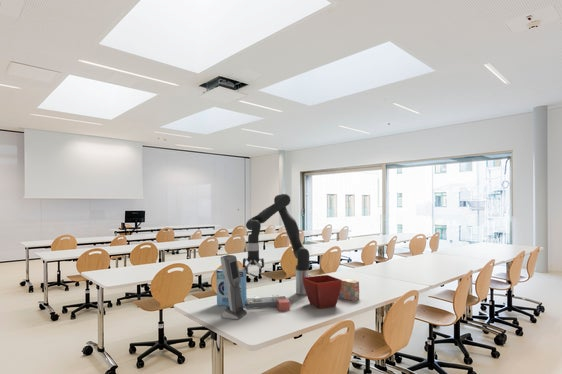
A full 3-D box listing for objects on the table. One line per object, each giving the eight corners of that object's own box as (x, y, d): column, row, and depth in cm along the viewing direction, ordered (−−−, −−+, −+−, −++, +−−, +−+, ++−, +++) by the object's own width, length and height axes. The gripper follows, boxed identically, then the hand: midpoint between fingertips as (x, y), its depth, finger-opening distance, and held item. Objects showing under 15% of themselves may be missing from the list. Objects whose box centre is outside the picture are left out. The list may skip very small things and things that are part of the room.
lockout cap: (287, 306, 219) (287, 298, 219) (289, 310, 211) (289, 301, 211) (277, 307, 217) (277, 299, 218) (279, 310, 210) (279, 302, 210)
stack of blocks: (328, 295, 243) (328, 278, 243) (333, 293, 247) (333, 276, 248) (354, 301, 228) (354, 282, 229) (359, 299, 233) (359, 280, 233)
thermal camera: (229, 311, 210) (228, 254, 211) (247, 313, 205) (247, 255, 207) (218, 317, 199) (218, 257, 201) (238, 320, 194) (237, 258, 196)
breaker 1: (260, 299, 225) (260, 296, 225) (261, 301, 220) (261, 298, 220) (254, 300, 224) (254, 296, 225) (255, 302, 220) (255, 298, 220)
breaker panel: (284, 300, 231) (284, 294, 232) (288, 305, 220) (288, 299, 220) (246, 303, 227) (246, 297, 227) (247, 308, 215) (247, 302, 215)
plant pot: (302, 302, 226) (302, 277, 226) (327, 299, 233) (326, 274, 234) (316, 311, 208) (316, 283, 209) (343, 307, 215) (342, 280, 216)
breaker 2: (278, 298, 227) (278, 294, 227) (279, 300, 222) (279, 296, 222) (272, 298, 227) (272, 295, 227) (273, 301, 222) (273, 297, 222)
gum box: (246, 305, 222) (246, 270, 223) (243, 307, 217) (243, 271, 218) (220, 303, 228) (219, 268, 229) (216, 305, 223) (216, 270, 224)
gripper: (264, 248, 231) (264, 273, 230) (244, 248, 233) (244, 272, 232) (263, 250, 224) (263, 275, 223) (241, 250, 225) (241, 275, 224)
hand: (253, 274), depth 227 cm, fingers open, 8 cm apart
